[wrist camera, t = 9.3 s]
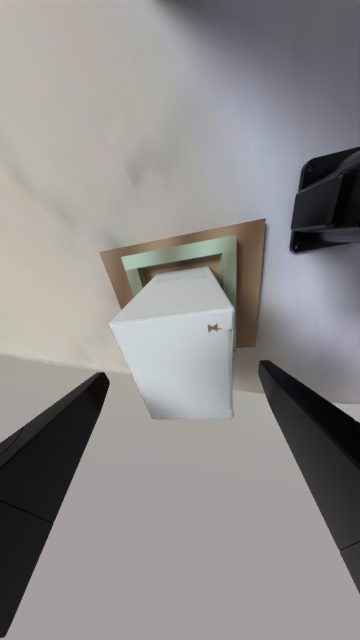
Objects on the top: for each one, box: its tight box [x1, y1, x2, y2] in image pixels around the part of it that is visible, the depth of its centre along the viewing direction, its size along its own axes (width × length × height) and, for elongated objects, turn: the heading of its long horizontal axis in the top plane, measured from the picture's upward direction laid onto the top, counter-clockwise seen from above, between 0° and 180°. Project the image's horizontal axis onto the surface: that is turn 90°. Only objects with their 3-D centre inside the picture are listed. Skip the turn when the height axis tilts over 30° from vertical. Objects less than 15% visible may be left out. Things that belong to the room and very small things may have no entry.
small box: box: [109, 266, 235, 419], centre depth 12 cm, size 8×6×10 cm
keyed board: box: [99, 218, 266, 351], centre depth 17 cm, size 16×14×2 cm
